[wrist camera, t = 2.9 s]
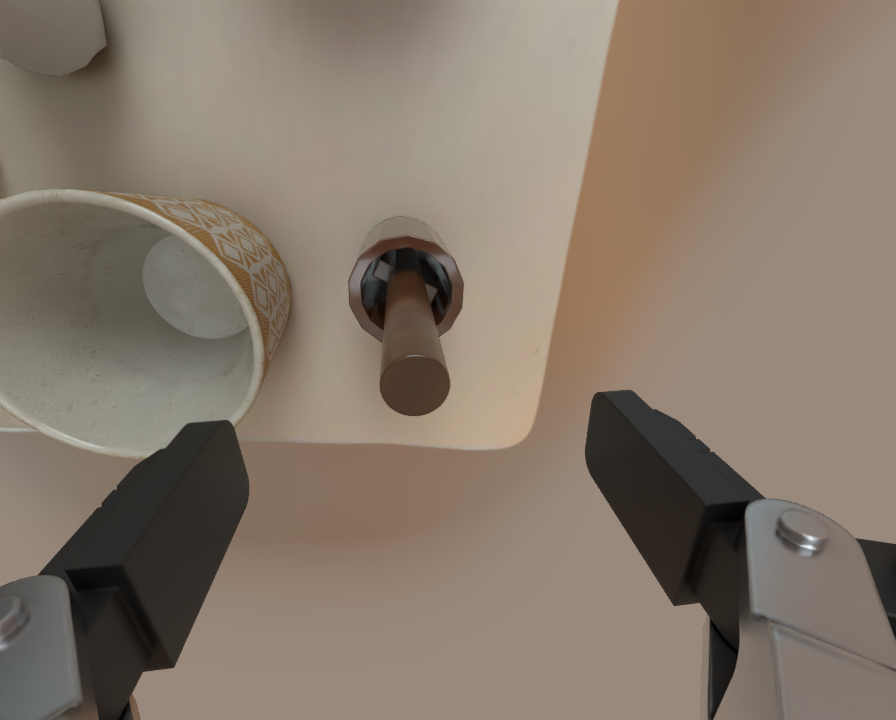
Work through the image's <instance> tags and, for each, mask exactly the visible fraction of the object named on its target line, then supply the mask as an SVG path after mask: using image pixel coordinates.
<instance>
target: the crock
mask: <svg viewBox="0 0 896 720" xmlns="http://www.w3.org/2000/svg"><path fill="white" fill-rule="evenodd" d="M402 248H411V249H413V250H414V251H415V252H416V253H417V255H418V258H419V261H421V262H423V263H425V264H426V265H428V266H430V267H431V270H432V272H433V275H434V278H435V281H436V284H437V286H438V292H437V294H436V296H435V298H434V299H433V301H432V303H431V308H432V312H433V316H434V320H435V324H436V327H437V331H438V335H439V337H440V336H441V335H443V334H444V333H445V332H447V331H448V330H449V329H450V328H451V327H452V325H453V323H454V322H455V320H456V318H457V316H458V314H459V313H460V311H461V309H462V303H463V289H464V283H463V279H462V277H461V274H460V272H459V270H458V267H457V265H456V262H455V260H454V258H453V257H452V255H451V254H450V252H449V251H448V249H447V248H446V246H445V245H444V243H443V242H442V240H441V239H440V237H439V236H438V234H437V233H436V232H435V231H433V229H432V228H431V227H429V226H428V225H427V224H426V223H425V222H423V221H420V220H418V219H415V218H412V217H404V216H400V217H393V218H390V219H387V220H385V221H383V222H381V223H380V224H378V225H377V226H376V227H375V228H374V229H373V230H372V231H370V233H369V234H368V236H367V239H366V241H365V243H364V245H363V247H362V250H361V252H360V254H359V257H358V259H357V261H356V263H355V266H354V268H353V270H352V273H351V275H350V277H349V281H348V285H349V305H350V308H351V309H352V311H353V313H354V315H355V317H356V319H357V320H358V322H359V324H360V326H361V327H362V328H363V329H364V330H365V331H367V332H368V333H369V334H371V335H372V336H373V337H375V338H376V339H378V340H379V341H380V342H383V333H384V319H385V306H386V293H387V283H386V282H384V281H382V280H380V279H378V278H376V277H374V276H372V273H373V268H374V264H375V260H376V259H378V258H379V257H380V256H382V255H383V254H384V253H385V252H387V251H392V250H397V249H402Z"/></svg>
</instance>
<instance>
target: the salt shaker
mask: <svg viewBox="0 0 896 720" xmlns="http://www.w3.org/2000/svg"><path fill="white" fill-rule="evenodd" d="M106 46H107V41H106V35H105V29H104V23H103V17H102V11H101V5H100V1H99V0H0V57H2V58H4V59H5V60H7V61H9V62H11V63H13V64H15V65H17V66H18V67H20V68H22V69H24V70H26V71H31V72H37V73H43V74H48V75H54V76H64V75H67V74H69V73H72V72H74V71H76V70H79V69H81V68H83V67H86V66H87V65H88V63H89V62H90V61H91V59H92V58H93V57H94V56H95V55H96V54H97V53H98V52H99V51H101V50H102V49H103V48H104V47H106Z"/></svg>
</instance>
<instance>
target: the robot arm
mask: <svg viewBox="0 0 896 720" xmlns="http://www.w3.org/2000/svg"><path fill="white" fill-rule="evenodd" d="M585 458H586V464H587V467H588V470H589V473H590V475H591V477H592V478H593V480H594V481H595V483H596V484H597V486H598V488H599V489H600V491H601V492H602V494H603V495H604V497H605V498H606V500H607V501H608V503H609V505H610V506H611V508H612V509H613V511H614V513H615V514H616V516H617V517H618V519H619V521H620V522H621V524H622V525H623V527H624V528H625V530H626V532H627V533H628V535H629V536H630V538H631V539H632V541H633V543H634V544H635V546H636V547H637V549H638V550H639V552H640V554H641V555H642V557H643V558H644V560H645V561H646V563H647V564H648V566H649V568H650V569H651V571H652V572H653V574H654V576H655V577H656V579H657V580H658V582H659V583H660V585H661V586H662V588H663V589H664V591H665V593H666V594H667V596H668V597H669V599H670V601H671V602H672V604H673V605H674V606H678V605H687V604H694V603H700V604H701V605H702V607H703V608H704V610H705V611H706V612H707V617H706V619H705V622H704V627H703V650H702V675H701V700H700V720H896V544H891V543H884V542H877V541H871V540H864V539H857V538H854V537H853V536H852V535H851V534H850V533H849V532H848V531H847V530H846V529H844V528H843V527H842V526H841V525H839V524H838V523H837V522H835V521H834V520H832V519H830V518H829V517H827V516H825V515H823V514H822V513H820V512H817V511H816V510H813V509H811V508H809V507H806V506H804V505H800V504H797V503H794V502H790V501H786V500H780V499H766V498H765V497H764V496H763V495H761V494H760V493H759V492H758V491H757V490H756V489H755V488H754V487H752V486H751V485H750V484H749V483H748V482H747V481H746V480H744V479H743V478H742V477H741V476H740V475H739V474H738V473H737V472H735V471H734V470H733V469H732V468H731V467H730V466H729V465H728V464H726V463H725V462H724V461H723V460H722V459H721V458H720V457H719V456H717V455H716V454H715V453H714V452H710V449H709V448H708V447H707V446H706V445H705V444H704V443H703V442H702V441H700V440H699V439H696V437H695V435H693V433H692V432H690V431H689V430H688V429H687V428H686V427H685V426H684V425H682V424H681V423H680V422H679V421H677V420H676V419H673V418H672V417H670V416H668V415H666V414H664V413H662V412H660V411H658V410H656V409H654V410H653V409H652V408H651V407H650V406H648V405H647V404H646V403H645V402H644V401H643V400H642V399H641V398H640V397H639V396H638V395H637V394H636V393H634V392H633V391H631V390H620V391H608V392H597V393H596V394H595V395H594V397H593V399H592V403H591V410H590V417H589V425H588V431H587V439H586V446H585ZM248 497H249V479H248V475H247V471H246V468H245V464H244V461H243V457H242V454H241V450H240V447H239V443H238V439H237V436H236V432H235V429H234V427H233V425H232V423H231V422H230V421H229V420H217V421H204V422H191V423H187V424H186V425H185V426H184V427H183V428H182V429H181V430H180V431H179V433H178V434H177V435H176V436H175V437H174V439H173V440H172V441H171V442H170V443H169V445H168V446H167V447H166V448H164V449H159V450H158V451H156V452H155V453H153V454H152V455H150V456H149V457H147V458H146V459H145V460H143V461H141V462H140V463H139V464H137V465H136V466H134V467H133V469H132V470H131V471H130V472H129V473H128V474H127V475H126V477H125V478H124V479H123V480H122V481H121V482H120V483H119V484H118V485H117V490H113V491H112V492H111V493H110V494H109V496H108V497H107V498H106V499H105V500H104V501H103V502H102V507H100V508H97V509H96V510H95V511H94V512H93V514H92V515H91V516H90V517H89V518H88V519H87V520H86V521H85V523H84V524H83V525H82V526H81V527H80V528H79V529H78V530H77V532H76V533H75V534H74V535H73V536H72V537H71V538H70V539H69V541H68V542H67V543H66V544H65V545H64V546H63V547H62V548H61V550H60V551H59V552H58V553H57V554H56V555H55V556H54V557H53V559H52V560H51V561H50V562H49V563H48V564H47V565H46V567H45V568H44V569H43V570H42V571H41V572H40V573H39V574H38V575H37V576H31V577H27V578H23V579H19V580H16V581H13V582H10V583H8V584H6V585H3V586H1V587H0V720H140V716H139V712H138V707H137V703H136V701H135V698H134V697H133V695H132V692H133V690H134V688H135V686H136V685H137V682H138V680H139V678H140V677H141V675H142V673H143V672H145V671H152V670H160V669H168V668H174V667H175V664H176V662H177V660H178V658H179V655H180V653H181V651H182V649H183V647H184V644H185V642H186V640H187V638H188V635H189V633H190V631H191V629H192V626H193V624H194V622H195V620H196V618H197V615H198V613H199V611H200V609H201V606H202V604H203V602H204V600H205V598H206V595H207V593H208V591H209V589H210V586H211V584H212V582H213V580H214V578H215V575H216V573H217V571H218V569H219V566H220V564H221V562H222V560H223V558H224V555H225V553H226V551H227V548H228V546H229V544H230V542H231V540H232V537H233V535H234V533H235V531H236V529H237V526H238V524H239V522H240V519H241V517H242V515H243V513H244V511H245V508H246V506H247V502H248Z"/></svg>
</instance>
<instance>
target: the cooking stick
mask: <svg viewBox="0 0 896 720" xmlns="http://www.w3.org/2000/svg"><path fill="white" fill-rule="evenodd" d="M372 276H374V277H376V278H378V279H380V280H382V281H384V282H386V283H387V293H386V306H385V319H384V333H383V346H382V359H381V373H380V392H381V395H382V397H383V399H384V401H385V402H386V404H387V405H388V406H389V407H390V408H392V409H393V410H394V411H396V412H398V413H400V414H403V415H408V416H420V415H425V414H428V413H430V412H432V411H434V410H436V409H437V408H438V407H439V406H441V404H442V403H443V402H444V401H445V399H446V398H447V396H448V393H449V390H450V378H449V374H448V370H447V366H446V362H445V358H444V354H443V350H442V347H441V343H440V339H439V335H438V331H437V327H436V324H435V320H434V316H433V312H432V308H431V303H432V301H433V299H434V298H435V296H436V294H437V292H438V286H437V284H436V281H435V278H434V275H433V272H432V270H431V267H430V266H428V265H426V264H425V263H423V262H421V261H419V258H418V255H417V253H416V252H415V251H414V250H413V249H411V248H402V249H397V250H392V251H387V252H385V253H384V254H383V255H382V256H380V257H379V258H378V259H376V260H375V264H374V268H373V273H372Z"/></svg>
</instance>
